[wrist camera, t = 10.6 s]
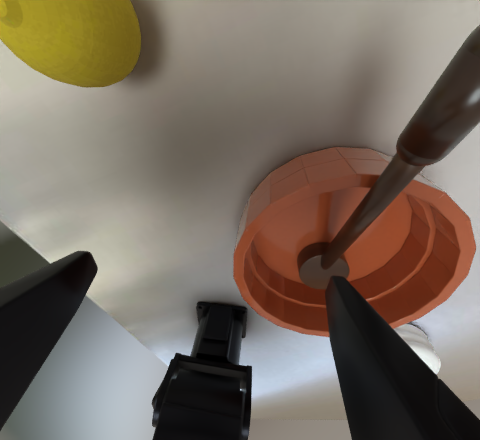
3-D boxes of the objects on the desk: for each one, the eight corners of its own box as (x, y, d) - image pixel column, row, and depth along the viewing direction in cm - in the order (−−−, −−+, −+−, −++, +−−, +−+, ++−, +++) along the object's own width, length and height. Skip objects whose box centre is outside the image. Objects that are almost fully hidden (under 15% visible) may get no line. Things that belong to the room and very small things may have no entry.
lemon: (137, -45, 13) (-12, -172, 6) (175, 71, 15) (103, 74, 9) (58, -10, 14) (-140, -83, 7) (106, 92, 17) (-2, 107, 10)
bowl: (381, 293, 25) (408, 346, 20) (240, 278, 26) (233, 326, 21) (463, 150, 16) (544, 184, 11) (244, 139, 17) (233, 166, 13)
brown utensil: (337, 277, 23) (372, 385, 15) (293, 273, 23) (305, 376, 16) (424, 43, 13) (678, -6, 5) (343, 41, 13) (455, -6, 5)
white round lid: (328, 330, 30) (335, 358, 27) (414, 310, 26) (432, 341, 23) (356, 365, 34) (364, 393, 31) (433, 352, 30) (451, 383, 27)
